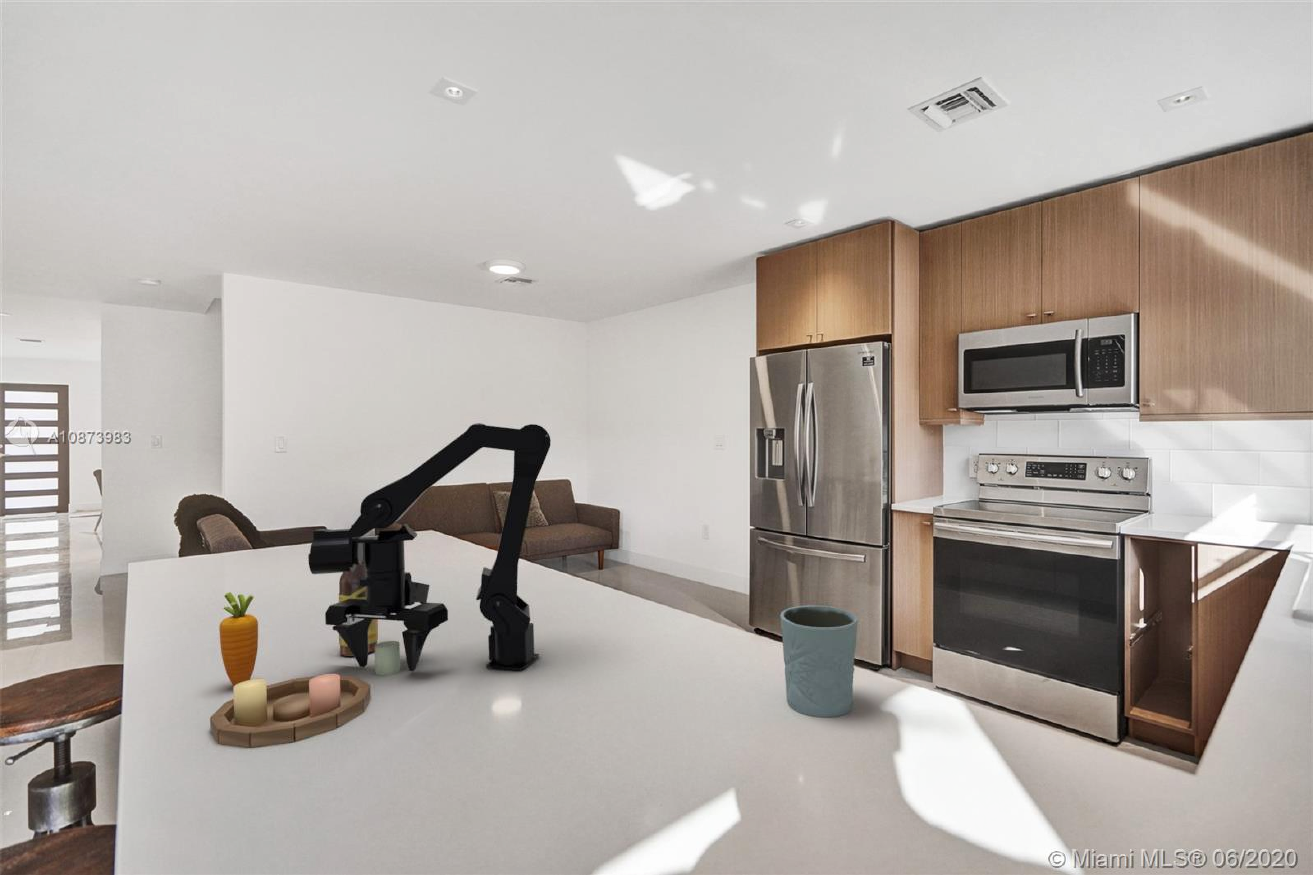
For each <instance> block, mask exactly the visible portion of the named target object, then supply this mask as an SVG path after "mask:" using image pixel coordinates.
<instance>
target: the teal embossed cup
mask: <svg viewBox="0 0 1313 875" xmlns="http://www.w3.org/2000/svg"><path fill="white" fill-rule="evenodd" d="M780 627H781V636H782V651H783V662H784V665H785V666H784V676H785V678H784V680H785V688H786V689H785V690H786V691H785V692H786V695H785V696H786V701H787V705H788V706H789V708H791V709H792V710H794V711H795V712H797V713H800V714H802V715H805V716H810V717H814V718H815V717H816V718H836V717H841V716H844V715H845V714H848V713H850V711H851V710H852V708H853V700H854V699H853V697H854V690H853V687H854V686H853V685H854V684H853V683H854V673H855V666H854V663H855V654H856V645H857V635H858V634H857V633H858V617H857V616H856V615H855V613H853V612H851V611H849V610H845V609H842V608H839V607H834V606H826V605H814V604H813V605H799V606H792V607H789V608H786V609H784V610H782V611H781V613H780Z"/></svg>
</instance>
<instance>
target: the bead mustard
mask: <svg viewBox="0 0 1313 875" xmlns="http://www.w3.org/2000/svg"><path fill="white" fill-rule="evenodd" d="M266 686H267V680H266V679H264V678H255V679H250V680H247V681H244V682H241V683H238V684H236V685H235V686H233V689H232V690H233V699H234V725H238V726H246V727H256V726H258V725H261V724H263V723H264V722H266V721H267V691H266Z"/></svg>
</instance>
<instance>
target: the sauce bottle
mask: <svg viewBox="0 0 1313 875" xmlns="http://www.w3.org/2000/svg"><path fill="white" fill-rule="evenodd" d="M363 578H366V576H365V543H363V560H362V564H361V565H356V567H355V570H354V571H353V572H342V573H341V575H340V577H339V587H338V588H339V589H338V590H339V593H338V603H339V602H342V601H344V600H347V599H366V586H360V579H363ZM378 641H379V619H372V621H371V624H370V626H369V628H368V654H369V653H372V652H375V645H376V644H378ZM338 644H339V652H340V655H342V656H346V657H354V655H353V654H352V652H351V650H350V649H349V647H348V646H347V644H346V643H345V641H344V640H343V639H342V637H341V636H340V635H339V634H338Z"/></svg>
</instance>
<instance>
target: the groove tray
mask: <svg viewBox="0 0 1313 875" xmlns="http://www.w3.org/2000/svg"><path fill="white" fill-rule="evenodd" d="M339 675H340V700H341V706H340V707H338V708H337V709H335V710H333V711H331V712H329V713H326V714H323V715H319V716H316V717H313V718H310V696H309V681H310V680H311V679H312V678H314V677H317V676H318V675H315V676H307V677H306V676H305V677H295V678H292V679H288V680H284V681H280V682H276V683H271V684H269V685H266V691H267V721H266V722H264V723H263V724H261V725H258V726H256V727H246V726H238V725H234V698H232V699H230V700H227V701H226V702H224V703H223V704H222V705H221V706H220V707H219V708H218V709H217V710H216V711H215V712H214V713H213V714H212V715H211V716H210V717H209V724H210V725H209V726H210V727H209V728H210V733H211V735H212V736H213V738H214V739H215V741H216V742H217V743H218V744H219V745H227V746H232V747H240V748H242V747H243V748H257V747H266V746H274V745H275V746H276V745H282V744H286V743H287V744H288V743H294V742H298V741H301V740H304V739H308V738H311V737H315V736H319V735H320V734H324V733H326V732H329V731H333V730H336V729H338V728H339V727H341V726H343V725H344V724H346V723H348V722H350V721H352V720H353V719H354V718H356V717H358V716H359V715H361V714H363V713H364V712H365V710H366V709H367V707H368V704H369V702H370V700H371V696H372V695H371V685H370V684H369V683H367V682H366V681H364V680H363V679H362V678H360V677H359V676H350V675H341V674H339Z"/></svg>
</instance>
